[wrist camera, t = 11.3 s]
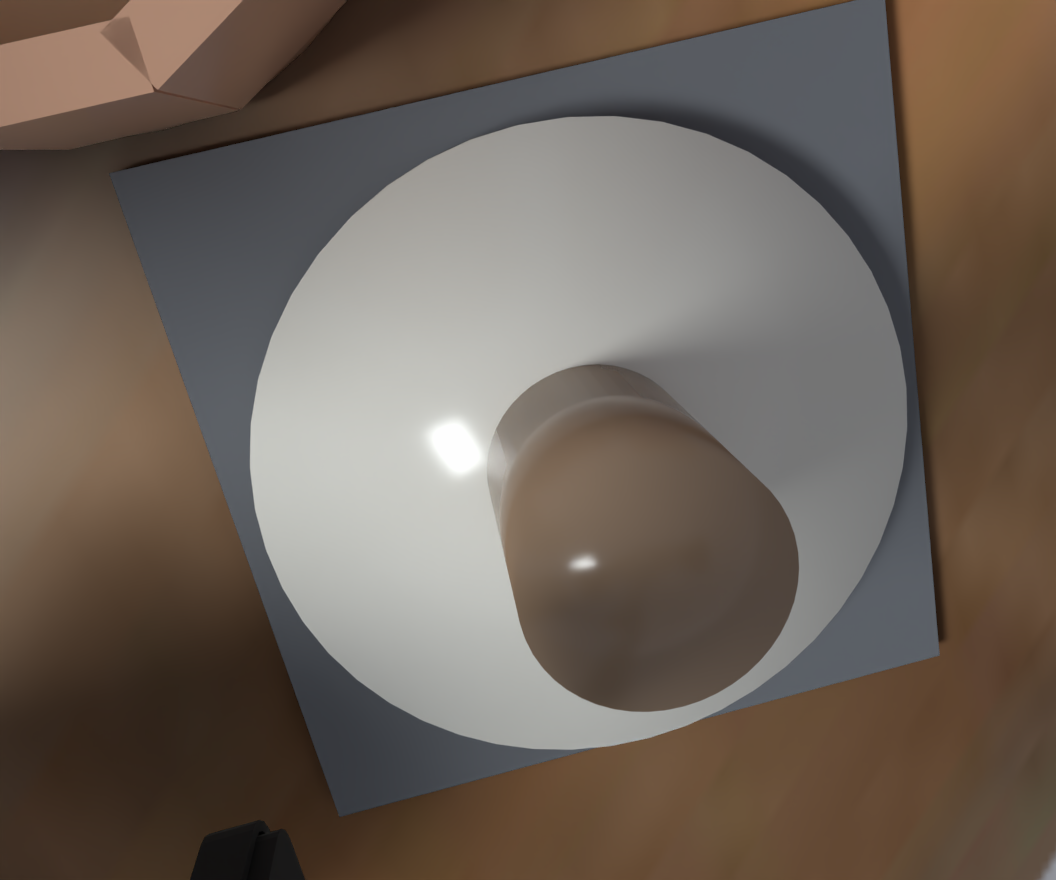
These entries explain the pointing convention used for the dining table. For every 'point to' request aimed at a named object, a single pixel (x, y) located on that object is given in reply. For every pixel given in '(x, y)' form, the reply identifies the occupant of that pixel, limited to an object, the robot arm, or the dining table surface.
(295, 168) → the mat
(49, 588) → the dining table surface
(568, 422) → the lid
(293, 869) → the robot arm
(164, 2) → the bowl
